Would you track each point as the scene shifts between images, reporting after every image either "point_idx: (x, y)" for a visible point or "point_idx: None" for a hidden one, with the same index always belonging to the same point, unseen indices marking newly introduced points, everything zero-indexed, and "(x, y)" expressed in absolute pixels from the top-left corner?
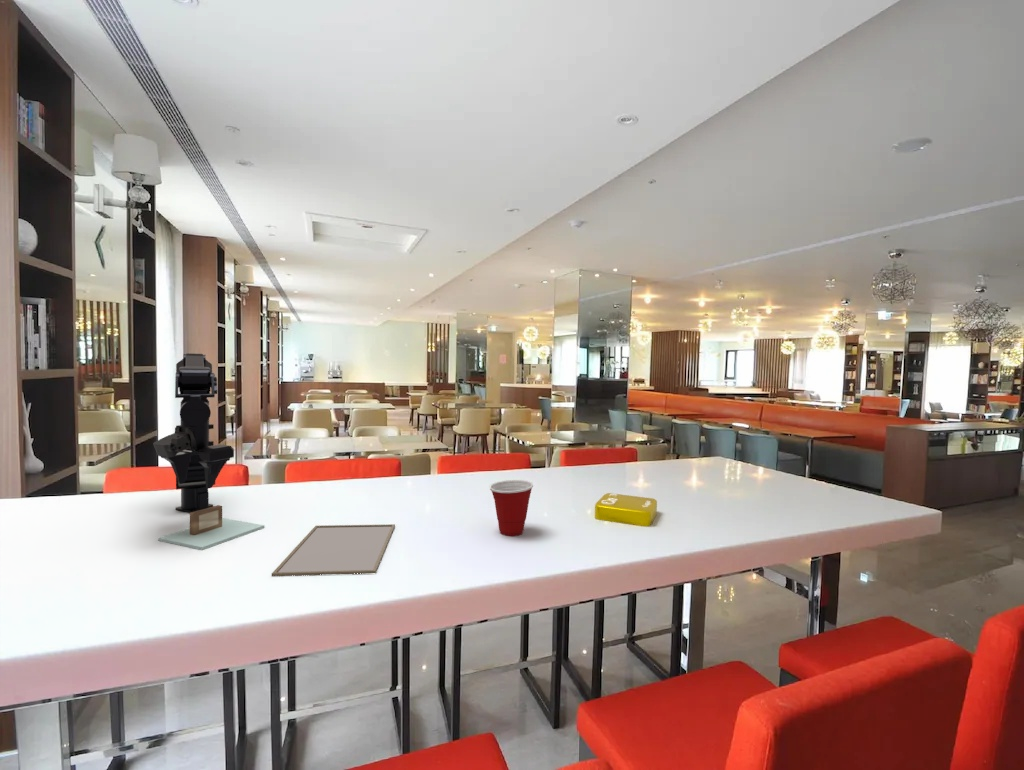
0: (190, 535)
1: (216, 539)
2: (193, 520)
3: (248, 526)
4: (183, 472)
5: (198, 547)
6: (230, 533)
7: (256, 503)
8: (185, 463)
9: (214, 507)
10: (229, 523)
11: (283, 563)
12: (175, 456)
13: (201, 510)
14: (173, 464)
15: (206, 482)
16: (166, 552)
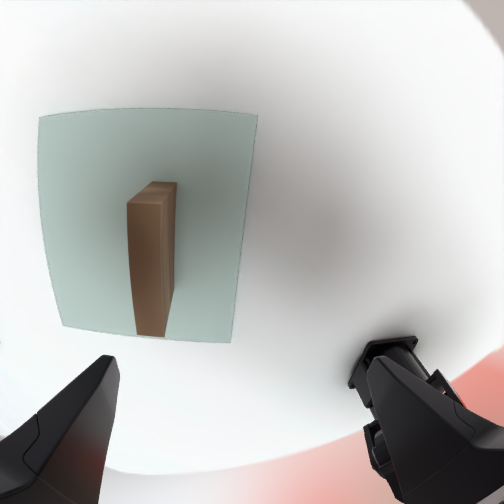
0: (164, 175)
1: (54, 183)
2: (141, 194)
3: (84, 308)
4: (397, 424)
5: (53, 115)
6: (67, 242)
7: (267, 427)
8: (415, 476)
9: (140, 309)
10: None
11: None
12: (490, 488)
13: (147, 256)
14: (475, 433)
15: (88, 380)
16: (122, 52)
